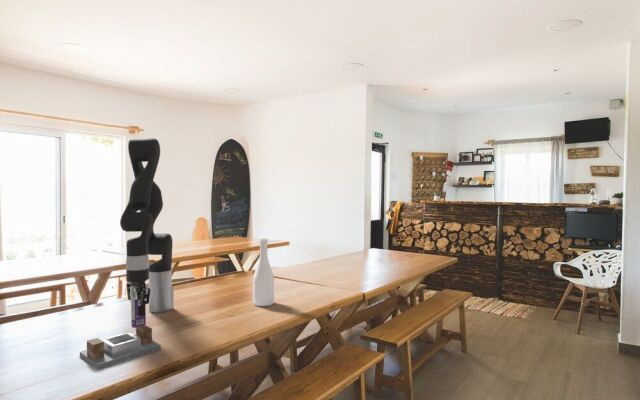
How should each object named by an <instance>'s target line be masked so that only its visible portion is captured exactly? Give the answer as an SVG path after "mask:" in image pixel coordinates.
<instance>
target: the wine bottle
mask: <svg viewBox="0 0 640 400" xmlns="http://www.w3.org/2000/svg"><path fill="white" fill-rule="evenodd" d="M272 270H273V269H272V267H271V264H270V261H269V257H268V239H267V238H259V259H258V261H257V265H256V268H255V271H254V275H253V278H252V281H253V282H252V285H253V286H252V287H253V288H252V291H253V292H252V300H253V301H252V302H253V304H254V305H255V306H256V307H257V306H258V307H269V306H272V305H273V304H274V302H275V276H274V272H273V271H272Z"/></svg>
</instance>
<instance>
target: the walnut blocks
mask: <svg viewBox="0 0 640 400" xmlns="http://www.w3.org/2000/svg"><path fill="white" fill-rule="evenodd" d="M135 336H137V337H139V338H141V344H143V345H144V344H147V343H150V342H152V341H153V328H152V327H150V326H148V325H144V326H140V327H136V328H135ZM86 350H87V356H89V357H90V358H92V359H93V360H94V359H98V358H101V357H104V342H103V341H102V340H101V339H100V338H98V337H95V338H91V339H88V340H86Z"/></svg>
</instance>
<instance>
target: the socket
mask: <svg viewBox="0 0 640 400" xmlns="http://www.w3.org/2000/svg"><path fill="white" fill-rule="evenodd" d="M100 340H102V341H103V342H104V351H105V352H107V353H108V354H110V355H111V356H115V355H118V354H122V353H125V352H128V351H131V350H135V349H138V348H141V338H139V337H137V336H136V334H133V333H131V332H129V331H127V332H124V333H121V334H116V335H113V336H109V337H106V338H101V339H100Z"/></svg>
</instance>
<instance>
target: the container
mask: <svg viewBox="0 0 640 400" xmlns="http://www.w3.org/2000/svg"><path fill="white" fill-rule="evenodd" d="M134 287H136V288H138V287H137V286H135V285H131V302H130V303H131V304H130V308H131V309H130V310H131V311H130V313H131V319H130V320H131V328H133V329H136V327H140V326H144V325H146V323H147V322H146V321H147V320H146V319H147V318H146V317H147V316H146V315H147V313H146V311H147V309H146V308H147V307H146V305H147V304H146V305H145V315H143V316H139V315H138V306H139V305H138V300H136V297H135V292H134ZM137 291H138V289H137ZM138 296H139V297H141V295H138ZM140 301H141V299H140ZM146 326H147V325H146Z"/></svg>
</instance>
